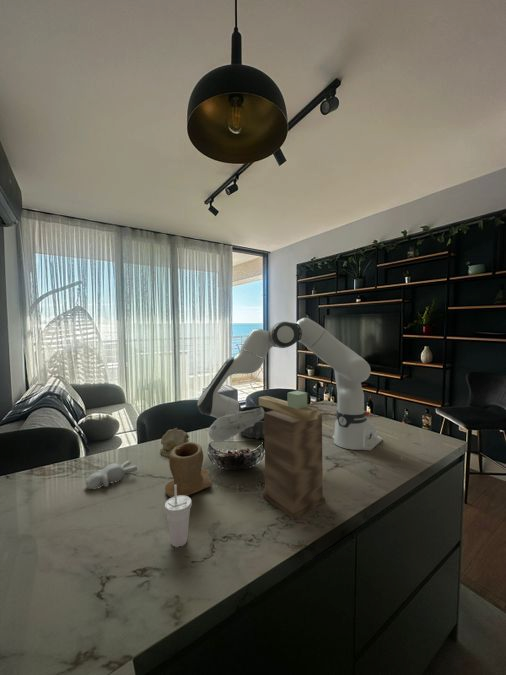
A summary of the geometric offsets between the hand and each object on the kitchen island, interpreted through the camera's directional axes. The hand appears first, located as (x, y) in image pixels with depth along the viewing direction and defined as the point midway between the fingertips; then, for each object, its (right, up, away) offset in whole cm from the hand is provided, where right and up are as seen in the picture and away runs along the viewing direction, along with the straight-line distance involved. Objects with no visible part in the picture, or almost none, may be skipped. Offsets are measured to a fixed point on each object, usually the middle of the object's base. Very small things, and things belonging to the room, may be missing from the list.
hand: (250, 412), depth 104 cm
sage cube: (+14, +7, -19) cm, 24 cm away
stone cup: (-19, -23, -10) cm, 31 cm away
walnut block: (+13, -22, -16) cm, 30 cm away
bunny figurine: (-48, -23, -3) cm, 53 cm away
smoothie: (-17, -23, -33) cm, 43 cm away
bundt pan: (+4, -20, +40) cm, 45 cm away
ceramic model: (-31, -22, +20) cm, 43 cm away
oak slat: (+11, +4, -15) cm, 19 cm away
